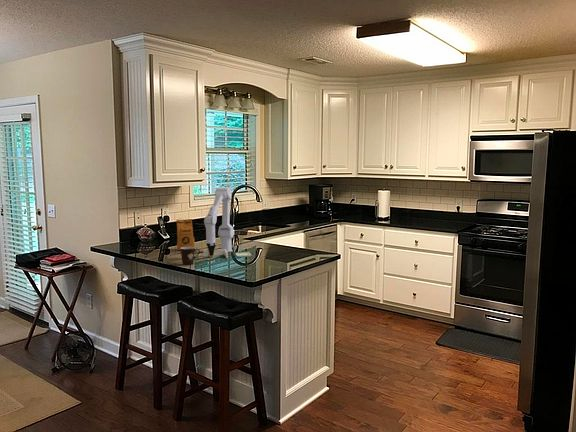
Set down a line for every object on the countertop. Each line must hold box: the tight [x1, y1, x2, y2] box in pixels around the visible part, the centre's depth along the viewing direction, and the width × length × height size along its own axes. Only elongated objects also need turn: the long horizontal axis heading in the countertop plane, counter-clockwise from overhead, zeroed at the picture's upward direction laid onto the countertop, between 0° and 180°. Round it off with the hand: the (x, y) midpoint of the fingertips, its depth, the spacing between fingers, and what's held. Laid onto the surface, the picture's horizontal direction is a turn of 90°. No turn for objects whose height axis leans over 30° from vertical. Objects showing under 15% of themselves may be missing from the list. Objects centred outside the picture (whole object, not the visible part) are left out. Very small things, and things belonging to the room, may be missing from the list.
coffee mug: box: [179, 247, 201, 266], centre depth 284 cm, size 12×9×10 cm
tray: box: [235, 251, 252, 258], centre depth 310 cm, size 9×9×1 cm
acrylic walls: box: [203, 249, 229, 259], centre depth 305 cm, size 13×14×4 cm
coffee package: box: [175, 218, 196, 251], centre depth 331 cm, size 10×12×22 cm
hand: (211, 254), depth 305 cm, fingers closed on ball, 4 cm apart
